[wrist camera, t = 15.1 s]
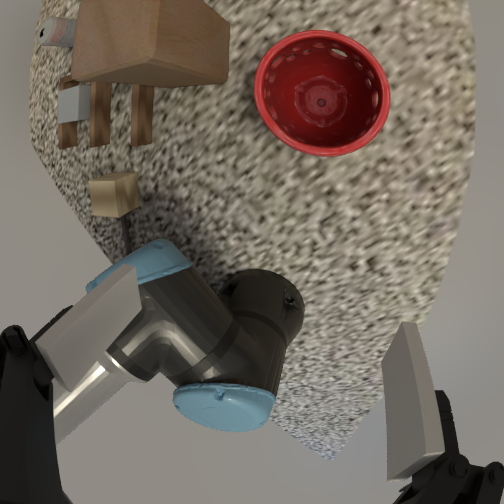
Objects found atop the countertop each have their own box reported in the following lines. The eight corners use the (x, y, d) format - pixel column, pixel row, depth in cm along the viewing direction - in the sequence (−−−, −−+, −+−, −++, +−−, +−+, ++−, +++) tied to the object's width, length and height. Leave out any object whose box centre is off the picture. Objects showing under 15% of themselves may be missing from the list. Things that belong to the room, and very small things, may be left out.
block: (101, 117, 40) (78, 120, 35) (80, 120, 41) (57, 123, 36) (103, 85, 37) (79, 85, 32) (81, 90, 38) (58, 91, 33)
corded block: (149, 277, 52) (116, 309, 43) (125, 271, 53) (92, 301, 44) (136, 172, 43) (92, 189, 34) (111, 172, 44) (67, 189, 35)
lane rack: (151, 143, 40) (137, 146, 37) (73, 145, 44) (58, 149, 40) (156, 59, 34) (141, 56, 30) (75, 78, 37) (60, 78, 34)
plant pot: (351, 163, 35) (363, 180, 24) (260, 127, 36) (234, 129, 25) (383, 79, 28) (408, 61, 18) (290, 44, 29) (275, 12, 19)
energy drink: (85, 28, 32) (38, 22, 22) (104, 21, 31) (56, 11, 21) (81, 52, 35) (33, 49, 24) (100, 46, 34) (51, 39, 23)
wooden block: (232, 22, 29) (159, -37, 12) (230, 84, 34) (147, 59, 16) (170, 32, 31) (76, -1, 14) (167, 89, 36) (66, 83, 18)
